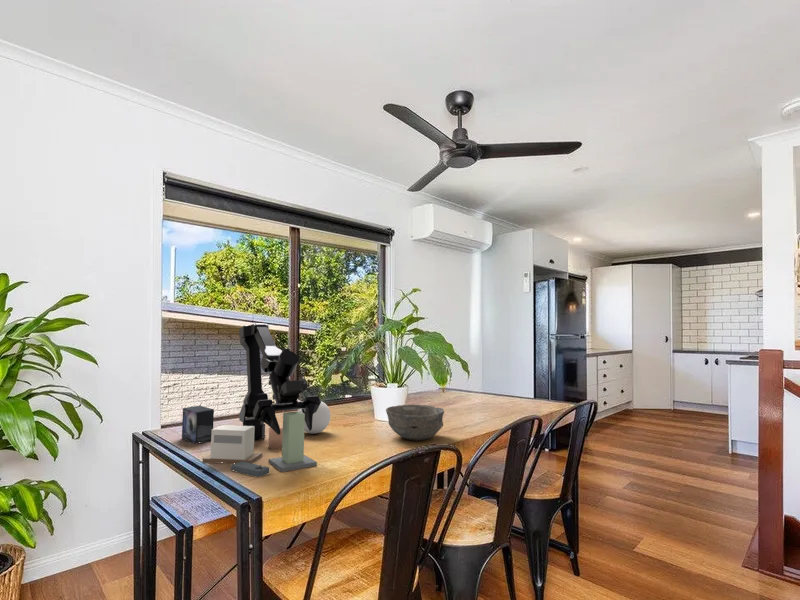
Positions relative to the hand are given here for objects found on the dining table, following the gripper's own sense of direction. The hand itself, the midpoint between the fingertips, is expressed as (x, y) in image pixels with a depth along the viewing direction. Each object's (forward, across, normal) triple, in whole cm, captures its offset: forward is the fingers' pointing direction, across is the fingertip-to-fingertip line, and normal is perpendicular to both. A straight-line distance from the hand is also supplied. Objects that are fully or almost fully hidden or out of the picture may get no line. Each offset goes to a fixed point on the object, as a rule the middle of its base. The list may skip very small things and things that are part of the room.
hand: (295, 431), depth 122 cm
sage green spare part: (+5, 0, +7) cm, 8 cm away
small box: (-26, -16, +39) cm, 49 cm away
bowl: (+2, +48, +12) cm, 49 cm away
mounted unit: (-4, -12, +17) cm, 22 cm away
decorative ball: (-16, +21, +30) cm, 40 cm away
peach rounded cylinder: (-9, +3, +22) cm, 24 cm away
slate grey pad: (+5, 0, +7) cm, 9 cm away
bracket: (+6, -12, +8) cm, 15 cm away
